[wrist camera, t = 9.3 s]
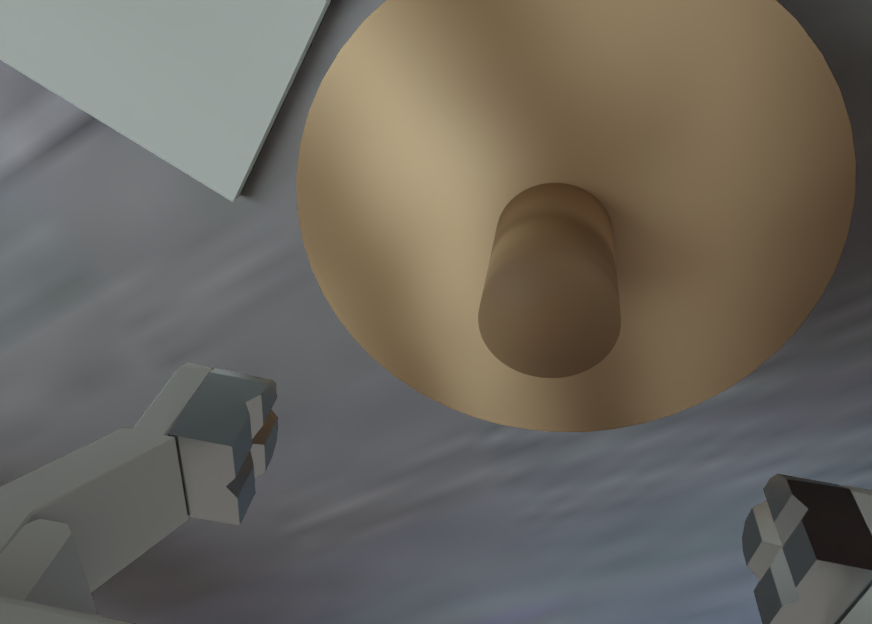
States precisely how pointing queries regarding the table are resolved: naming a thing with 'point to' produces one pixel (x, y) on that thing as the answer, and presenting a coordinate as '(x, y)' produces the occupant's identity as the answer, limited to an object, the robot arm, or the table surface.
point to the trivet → (169, 71)
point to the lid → (575, 200)
